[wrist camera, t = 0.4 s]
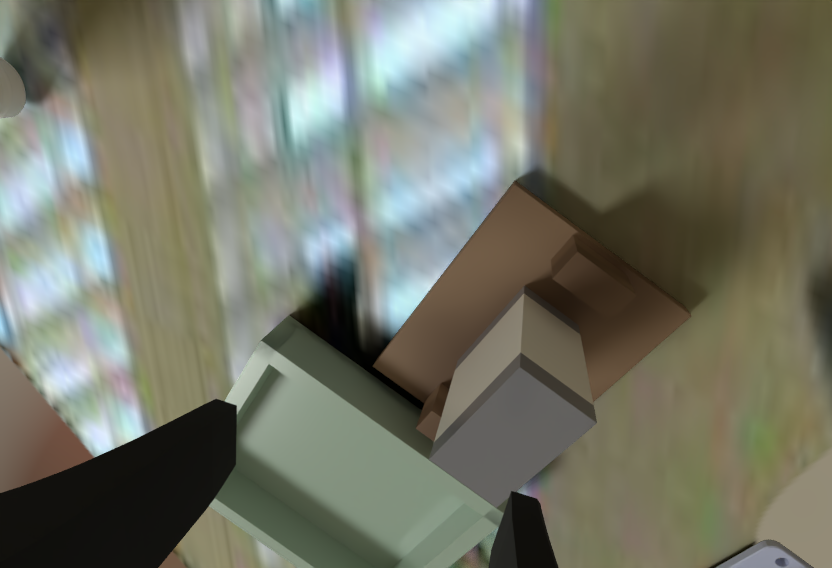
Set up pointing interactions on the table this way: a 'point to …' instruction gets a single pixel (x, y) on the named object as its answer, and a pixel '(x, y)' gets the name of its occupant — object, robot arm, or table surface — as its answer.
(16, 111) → the lightbulb
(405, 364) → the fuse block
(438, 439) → the block
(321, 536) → the parts tray
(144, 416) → the table surface
